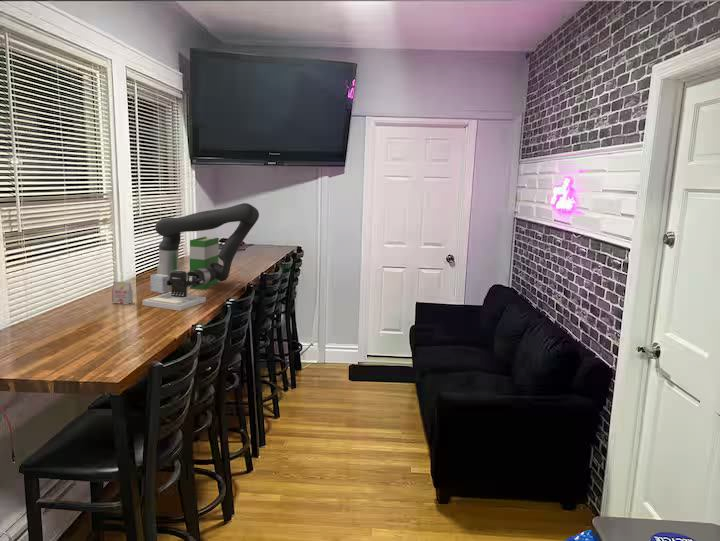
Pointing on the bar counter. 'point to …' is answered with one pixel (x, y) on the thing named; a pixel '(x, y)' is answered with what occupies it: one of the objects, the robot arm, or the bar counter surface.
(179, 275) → the battery charger
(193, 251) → the hardback book
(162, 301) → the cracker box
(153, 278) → the medicine box
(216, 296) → the bar counter surface
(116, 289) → the tea bag
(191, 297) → the tray
